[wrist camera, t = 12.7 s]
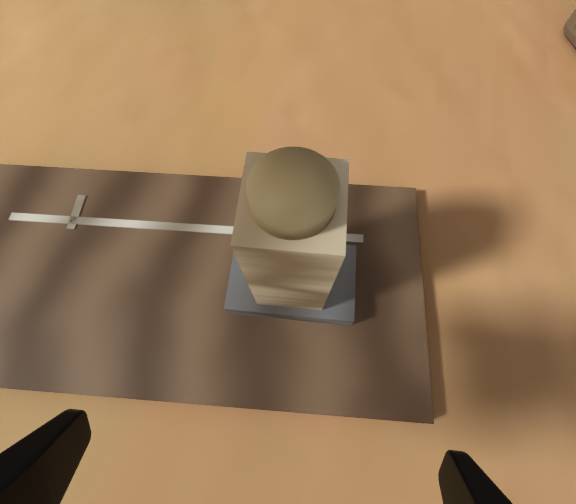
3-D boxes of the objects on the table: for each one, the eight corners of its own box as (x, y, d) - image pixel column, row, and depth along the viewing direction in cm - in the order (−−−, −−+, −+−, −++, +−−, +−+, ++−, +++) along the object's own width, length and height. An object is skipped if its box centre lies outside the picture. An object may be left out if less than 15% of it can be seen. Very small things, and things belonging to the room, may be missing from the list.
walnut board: (411, 195, 26) (416, 187, 25) (427, 421, 20) (434, 424, 19) (-6, 170, 27) (-18, 162, 26) (-104, 377, 21) (-124, 377, 20)
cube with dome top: (352, 253, 23) (409, 134, 12) (350, 325, 21) (415, 265, 10) (239, 243, 23) (192, 119, 12) (228, 313, 22) (159, 242, 10)
